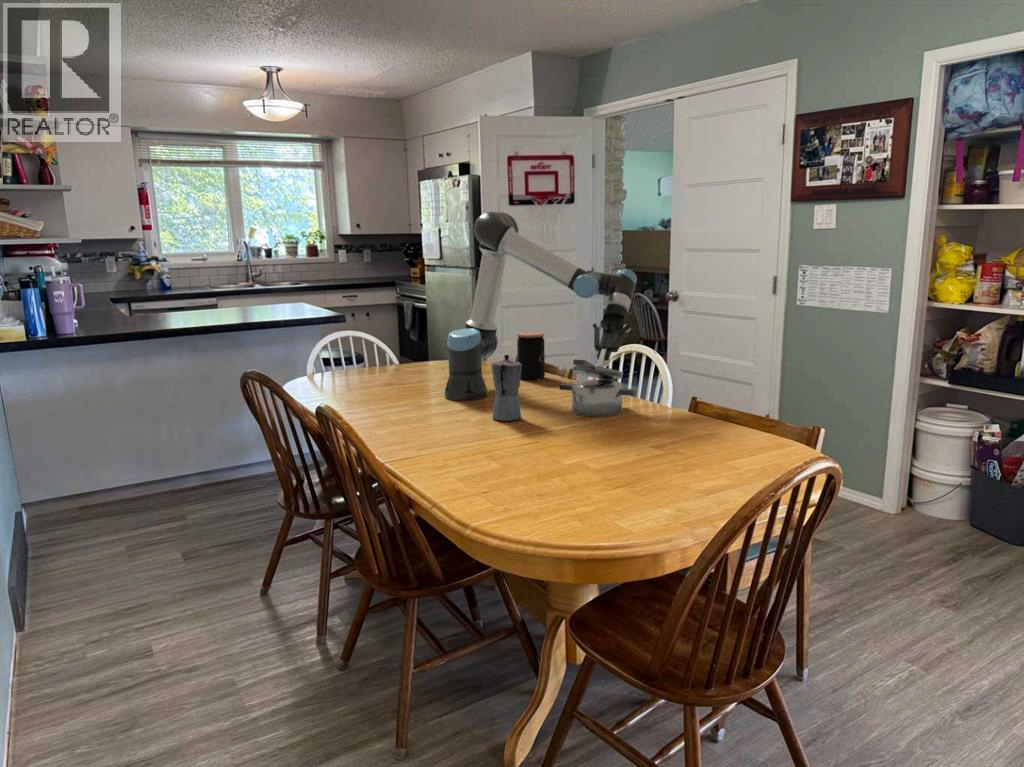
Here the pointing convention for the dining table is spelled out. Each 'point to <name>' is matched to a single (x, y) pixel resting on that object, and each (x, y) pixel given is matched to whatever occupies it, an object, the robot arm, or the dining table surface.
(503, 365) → the moka pot
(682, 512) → the dining table surface
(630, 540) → the dining table surface
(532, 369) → the coffee jar
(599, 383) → the pot
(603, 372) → the lid
